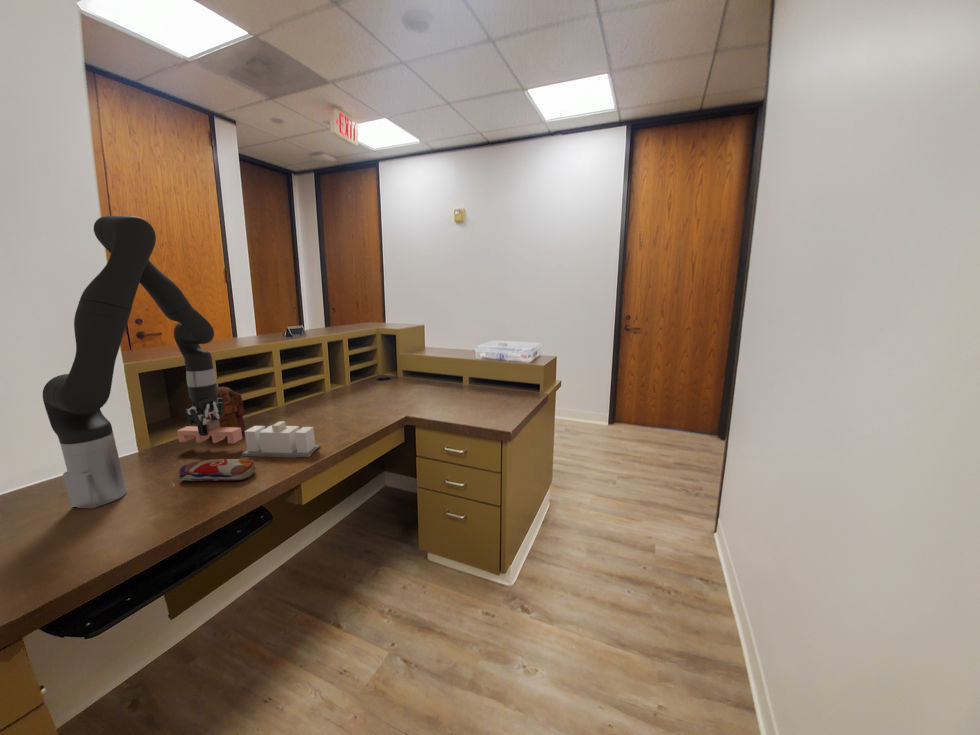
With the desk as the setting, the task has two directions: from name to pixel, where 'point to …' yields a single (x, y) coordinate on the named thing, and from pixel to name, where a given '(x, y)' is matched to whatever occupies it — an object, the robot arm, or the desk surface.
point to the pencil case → (217, 470)
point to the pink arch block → (210, 433)
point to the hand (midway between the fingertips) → (209, 432)
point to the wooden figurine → (231, 409)
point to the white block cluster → (280, 441)
